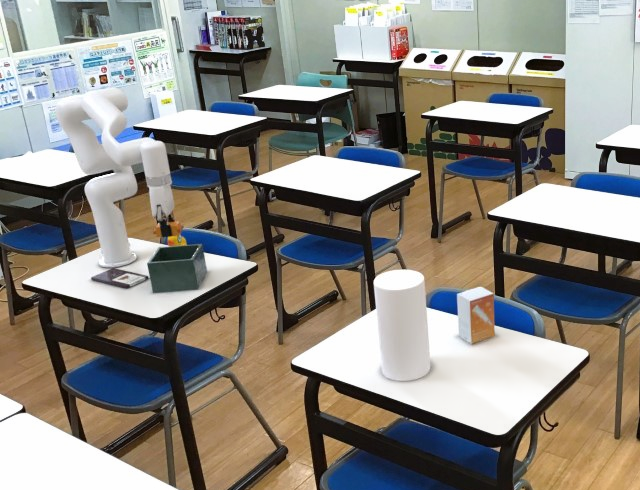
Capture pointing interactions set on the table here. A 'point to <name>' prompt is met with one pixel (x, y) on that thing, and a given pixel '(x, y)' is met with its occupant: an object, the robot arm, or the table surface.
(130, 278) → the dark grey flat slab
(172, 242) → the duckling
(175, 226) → the packet
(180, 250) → the bin
